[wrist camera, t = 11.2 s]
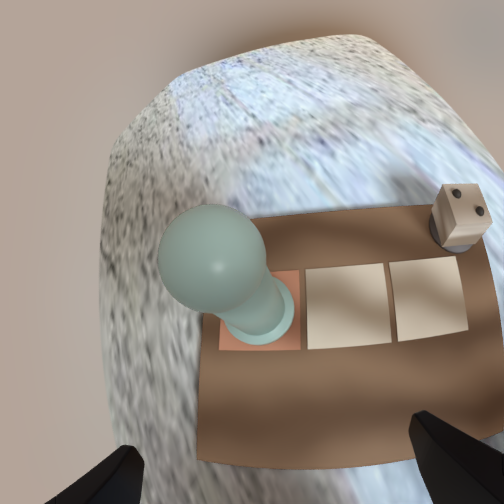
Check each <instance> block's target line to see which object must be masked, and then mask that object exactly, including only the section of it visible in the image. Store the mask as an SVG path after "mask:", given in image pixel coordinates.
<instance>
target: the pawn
mask: <svg viewBox="0 0 504 504" xmlns="http://www.w3.org/2000/svg"><path fill="white" fill-rule="evenodd" d="M158 268H159V273H160V276H161V279H162V281H163V283H164V285H165V287H166V289H167V290H168V291H169V293H170V294H171V295H172V296H173V297H174V298H175V299H176V300H177V301H178V302H179V303H181V304H182V305H184V306H185V307H188V308H190V309H192V310H194V311H198V312H202V313H213V314H214V315H216V316H217V317H219V318H221V319H222V320H224V322H225V325H226V327H227V329H228V330H229V332H230V333H231V334H232V335H233V336H234V337H236V338H237V339H239V340H240V341H242V342H245V343H247V344H250V345H267V344H270V343H273V342H275V341H277V340H278V339H280V338H281V337H282V336H283V335H284V334H285V333H286V332H287V331H288V330H289V328H290V326H291V324H292V322H293V319H294V313H295V306H294V301H293V298H292V295H291V293H290V291H289V290H288V288H287V287H286V285H285V284H284V283H283V282H281V281H280V280H279V279H277V278H275V277H273V276H272V275H271V273H270V271H269V269H268V267H267V265H266V249H265V245H264V242H263V239H262V236H261V234H260V232H259V231H258V229H257V228H256V226H255V225H254V224H253V223H252V221H251V220H250V219H249V218H247V217H246V216H245V215H244V214H242V213H240V212H239V211H237V210H235V209H233V208H230V207H227V206H223V205H217V204H206V205H200V206H196V207H194V208H191V209H189V210H187V211H185V212H183V213H182V214H180V215H179V216H178V217H176V218H175V219H174V220H173V221H172V222H171V224H170V225H169V226H168V227H167V229H166V231H165V232H164V234H163V236H162V239H161V241H160V244H159V249H158Z"/></svg>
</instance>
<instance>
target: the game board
mask: <svg viewBox="0 0 504 504" xmlns="http://www.w3.org/2000/svg"><path fill="white" fill-rule="evenodd" d="M250 220H251V221H252V223H253V224H254V225H255V226H256V228H257V229H258V231H259V232H260V234H261V236H262V239H263V242H264V245H265V249H266V265H267V267H268V269H269V271H270V273H271V275H272V276H273V277H275V278H277V279H279V280H280V281H281V282H283V283H284V284H285V285H286V287H287V288H288V290H289V291H290V293H291V295H292V298H293V301H294V306H295V313H294V319H293V322H292V324H291V326H290V328H289V330H288V331H287V332H286V333H285V334H284V335H283V336H282V337H281V338H280V339H278V340H277V341H275V342H273V343H270V344H267V345H250V344H247V343H245V342H242V341H240V340H239V339H237V338H236V337H234V336H233V335H232V334H231V333H230V332H229V330H228V329H227V327H226V325H225V322H224V320H222V319H221V318H219V317H217V316H216V315H214V314H213V313H203V326H202V341H201V357H200V375H199V397H198V425H197V460H202V461H207V462H214V463H220V464H227V465H236V466H245V467H255V468H270V469H303V470H304V469H337V468H351V467H362V466H371V465H378V464H385V463H392V462H398V461H403V460H409V459H414V458H416V457H415V454H414V450H413V447H412V444H411V440H410V437H409V433H408V429H409V425H410V421H411V417H412V415H413V413H415V412H418V411H421V410H426V411H428V412H430V413H432V414H433V415H435V416H437V417H438V418H440V419H442V420H444V421H445V422H447V423H449V424H451V425H452V426H454V427H456V428H458V429H459V430H461V431H463V432H465V433H466V434H468V435H470V436H472V437H474V438H476V439H477V440H482V439H484V438H487V437H490V436H492V435H495V434H497V433H500V432H502V431H503V430H504V347H503V337H502V328H501V320H500V314H499V307H498V301H497V296H496V291H495V286H494V281H493V276H492V272H491V268H490V264H489V260H488V256H487V252H486V249H485V245H484V242H483V238H482V235H483V234H484V233H485V232H486V230H487V229H488V228H489V227H490V225H491V224H492V223H493V222H492V219H491V216H490V213H489V211H488V208H487V205H486V203H485V200H484V198H483V195H482V193H481V190H480V188H479V186H478V184H442V187H441V189H440V191H439V194H438V196H437V198H436V200H435V203H434V204H431V205H413V206H397V207H382V208H368V209H354V210H342V211H330V212H318V213H307V214H296V215H286V216H276V217H266V218H257V219H250Z"/></svg>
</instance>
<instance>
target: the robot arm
mask: <svg viewBox="0 0 504 504" xmlns="http://www.w3.org/2000/svg"><path fill="white" fill-rule="evenodd" d="M408 433H409V437H410V440H411V444H412V447H413V450H414V454H415V457H416V461H417V464H418V467H419V471H420V473H421V476H422V478H423V480H424V483H425V485H426V487H427V490H428V492H429V495H430V497H431V499H432V502H433V504H504V453H503V454H502V453H501V452H500V451H498V450H496V449H494V448H492V447H490V446H488V445H487V444H485V443H483V442H481V441H479V440H477V439H476V438H474V437H472V436H470V435H468V434H466V433H465V432H463V431H461V430H459V429H458V428H456V427H454V426H452V425H451V424H449V423H447V422H445V421H444V420H442V419H440V418H438V417H437V416H435V415H433V414H432V413H430V412H428V411H426V410H421V411H418V412H415V413H413V415H412V417H411V421H410V425H409V429H408ZM143 473H144V460H143V458H142V457H141V455H140V454H139V452H138V451H137V449H136V448H135V447H134V446H130V445H122V446H120V447H119V448H118V449H117V450H115V451H114V452H113V453H112V454H111V455H109V456H108V457H107V458H106V459H104V460H103V461H102V462H100V463H99V464H98V465H97V466H95V467H94V468H93V469H91V470H90V471H89V472H88V473H86V474H85V475H84V476H82V477H81V478H80V479H78V480H77V481H76V482H74V483H73V484H72V485H70V486H69V487H68V488H66V489H65V490H63V491H62V492H61V493H59V494H58V495H57V496H55V497H54V498H52V499H51V500H49V501H48V502H46V503H45V504H140V499H141V491H142V482H143Z"/></svg>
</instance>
